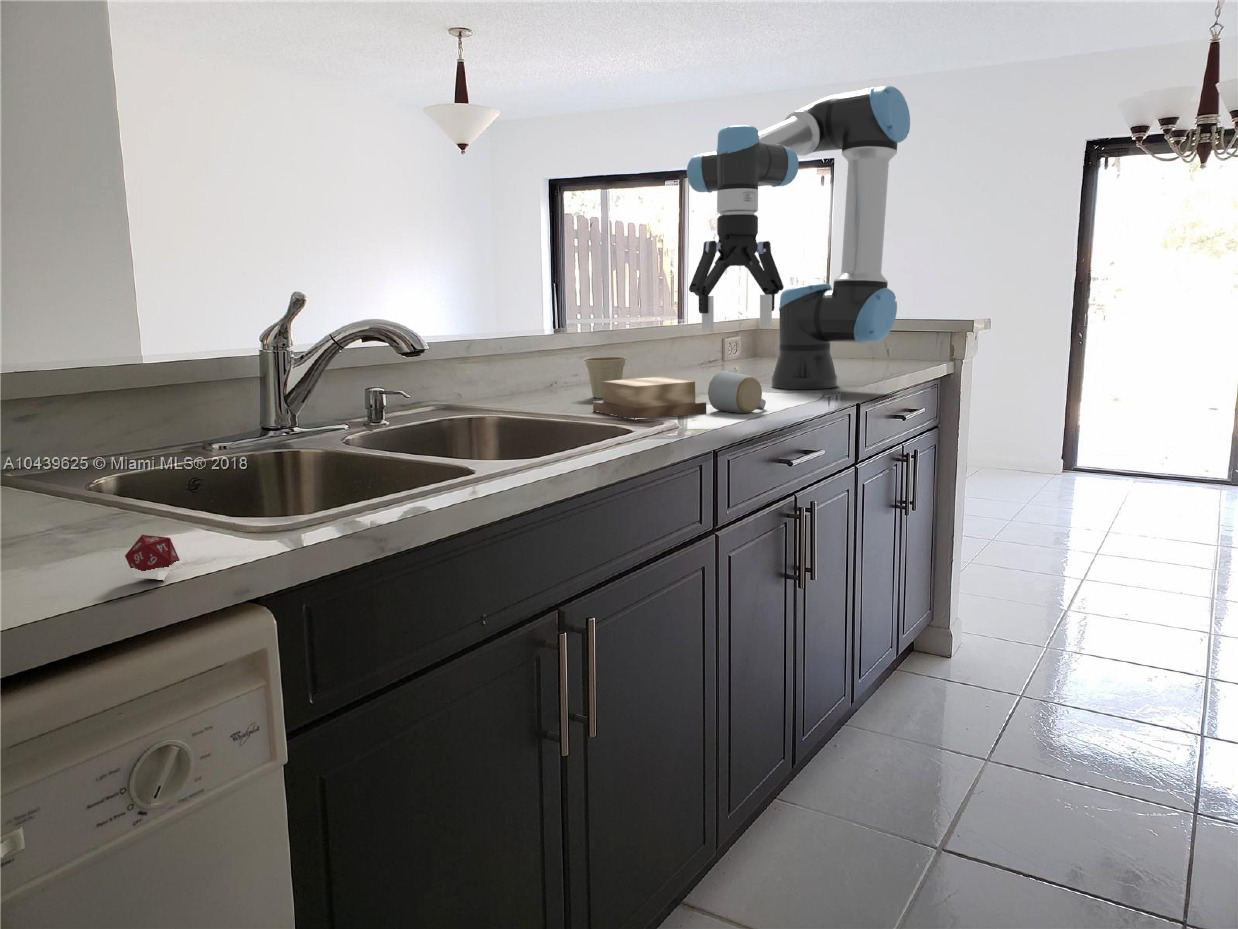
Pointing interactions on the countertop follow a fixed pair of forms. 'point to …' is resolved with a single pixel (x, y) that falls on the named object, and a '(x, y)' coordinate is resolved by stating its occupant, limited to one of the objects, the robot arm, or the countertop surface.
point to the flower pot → (604, 372)
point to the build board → (650, 410)
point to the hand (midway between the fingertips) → (737, 330)
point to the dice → (151, 553)
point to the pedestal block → (648, 392)
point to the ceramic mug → (735, 393)
